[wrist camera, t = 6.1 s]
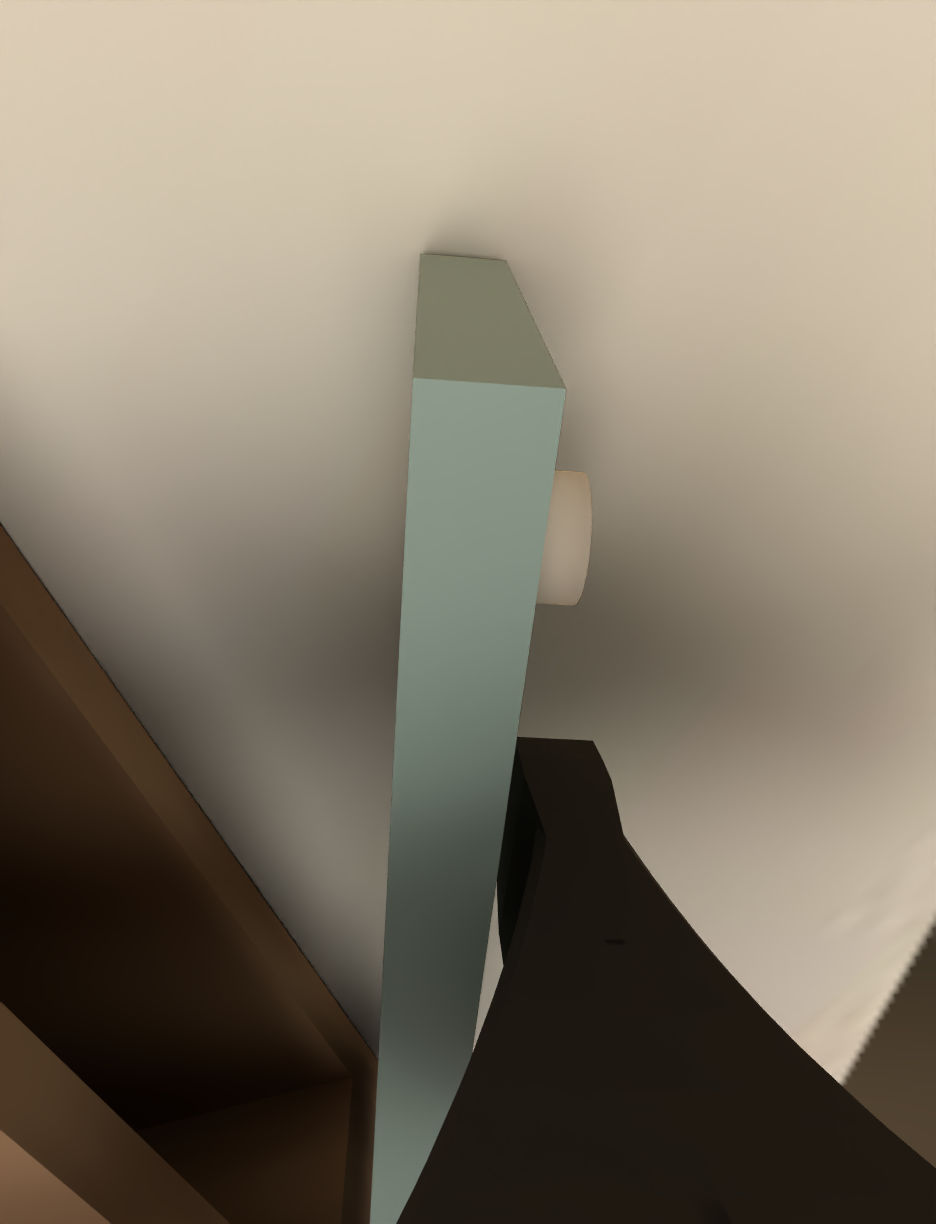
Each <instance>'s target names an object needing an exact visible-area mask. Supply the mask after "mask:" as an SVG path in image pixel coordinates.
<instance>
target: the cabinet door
mask: <svg viewBox="0 0 936 1224" xmlns="http://www.w3.org/2000/svg"><path fill="white" fill-rule="evenodd" d="M565 394H566V387H565V385H564V383H563V381H562V379H561V377H560V375H559V372H558V370H557V368H556V366H555V364H554V362H553V360H552V358H551V355H550V353H549V351H548V349H547V347H546V345H545V343H544V341H543V339H542V336H541V334H540V332H539V330H538V328H537V326H536V324H535V322H534V319H533V317H532V315H531V313H530V311H529V309H528V307H527V305H526V302H525V300H524V298H523V296H522V294H521V292H520V290H519V288H518V285H517V283H516V281H515V279H514V277H513V275H512V273H511V271H510V268H509V266H508V264H507V262H506V261H503V260H491V259H479V258H467V257H455V256H443V255H431V254H420V268H419V285H418V302H417V318H416V335H415V352H414V368H413V386H412V406H411V426H410V446H409V465H408V485H407V505H406V525H405V544H404V564H403V584H402V604H401V623H400V643H399V663H398V683H397V702H396V722H395V742H394V762H393V781H392V801H391V821H390V841H389V860H388V880H387V900H386V920H385V939H384V959H383V979H382V999H381V1018H380V1038H379V1058H378V1078H377V1097H376V1117H375V1137H374V1157H373V1176H372V1196H371V1216H370V1224H396V1223H397V1221H398V1219H399V1217H400V1215H401V1213H402V1211H403V1209H404V1207H405V1205H406V1203H407V1201H408V1199H409V1197H410V1195H411V1193H412V1191H413V1189H414V1187H415V1185H416V1182H417V1180H418V1178H419V1176H420V1174H421V1172H422V1170H423V1168H424V1165H425V1163H426V1161H427V1159H428V1157H429V1154H430V1152H431V1150H432V1148H433V1145H434V1143H435V1141H436V1138H437V1136H438V1134H439V1131H440V1129H441V1127H442V1125H443V1122H444V1120H445V1118H446V1115H447V1113H448V1111H449V1109H450V1106H451V1104H452V1102H453V1099H454V1097H455V1095H456V1093H457V1090H458V1088H459V1086H460V1083H461V1081H462V1079H463V1076H464V1074H465V1071H466V1069H467V1066H468V1064H469V1061H470V1059H471V1056H472V1050H473V1043H474V1036H475V1029H476V1022H477V1015H478V1008H479V1001H480V994H481V986H482V979H483V972H484V965H485V958H486V951H487V944H488V937H489V930H490V923H491V916H492V909H493V902H494V895H495V888H496V881H497V874H498V867H499V860H500V852H501V845H502V838H503V831H504V824H505V817H506V810H507V803H508V796H509V789H510V782H511V775H512V768H513V761H514V754H515V747H516V740H517V733H518V726H519V718H520V711H521V704H522V697H523V690H524V683H525V676H526V669H527V662H528V655H529V648H530V641H531V634H532V627H533V620H534V613H535V606H536V604H554V605H573V606H574V605H576V604H577V603H578V601H579V599H580V597H581V594H582V592H583V588H584V585H585V580H586V576H587V570H588V564H589V556H590V547H591V533H592V502H591V491H590V485H589V481H588V478H587V475H586V474H585V473H584V472H576V471H560V470H555V465H556V458H557V451H558V443H559V436H560V429H561V422H562V415H563V408H564V401H565Z"/></svg>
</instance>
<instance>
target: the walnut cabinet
mask: <svg viewBox="0 0 936 1224" xmlns="http://www.w3.org/2000/svg"><path fill="white" fill-rule="evenodd" d="M377 1078H378V1060H377V1059H376V1057H375V1056H374V1054H373V1053H372V1052H371V1050H370V1049H369V1047H368V1046H367V1044H366V1043H365V1042H364V1040H363V1039H362V1037H361V1036H360V1035H359V1033H358V1032H357V1030H356V1029H355V1027H354V1026H353V1025H352V1023H351V1022H350V1020H349V1019H348V1018H347V1016H346V1015H345V1013H344V1012H343V1010H342V1009H341V1008H340V1006H339V1005H338V1003H337V1002H336V1000H335V999H334V998H333V996H332V995H331V993H330V992H329V991H328V989H327V988H326V986H325V985H324V983H323V982H322V981H321V979H320V978H319V976H318V975H317V974H316V972H315V971H314V969H313V968H312V966H311V965H310V964H309V962H308V961H307V959H306V958H305V957H304V955H303V954H302V952H301V951H300V949H299V948H298V947H297V945H296V944H295V942H294V941H293V939H292V938H291V937H290V935H289V934H288V932H287V931H286V930H285V928H284V927H283V925H282V924H281V922H280V921H279V920H278V918H277V917H276V915H275V914H274V913H273V911H272V910H271V908H270V907H269V905H268V904H267V903H266V901H265V900H264V898H263V897H262V895H261V894H260V893H259V891H258V890H257V888H256V887H255V886H254V884H253V883H252V881H251V880H250V878H249V877H248V876H247V874H246V873H245V871H244V870H243V869H242V867H241V866H240V864H239V863H238V861H237V860H236V859H235V857H234V856H233V854H232V853H231V852H230V850H229V849H228V847H227V846H226V844H225V843H224V842H223V840H222V839H221V837H220V836H219V834H218V833H217V832H216V830H215V829H214V827H213V826H212V825H211V823H210V822H209V820H208V819H207V817H206V816H205V815H204V813H203V812H202V810H201V809H200V808H199V806H198V805H197V803H196V802H195V800H194V799H193V798H192V796H191V795H190V793H189V792H188V790H187V789H186V788H185V786H184V785H183V783H182V782H181V781H180V779H179V778H178V776H177V775H176V773H175V772H174V771H173V769H172V768H171V766H170V765H169V764H168V762H167V761H166V759H165V758H164V756H163V755H162V754H161V752H160V751H159V749H158V748H157V747H156V745H155V744H154V742H153V741H152V739H151V738H150V737H149V735H148V734H147V732H146V731H145V729H144V728H143V727H142V725H141V724H140V722H139V721H138V720H137V718H136V717H135V715H134V714H133V712H132V711H131V710H130V708H129V707H128V705H127V704H126V703H125V701H124V700H123V698H122V697H121V695H120V694H119V693H118V691H117V690H116V688H115V687H114V686H113V684H112V683H111V681H110V680H109V678H108V677H107V676H106V674H105V673H104V671H103V670H102V668H101V667H100V666H99V664H98V663H97V661H96V660H95V659H94V657H93V656H92V654H91V653H90V651H89V650H88V649H87V647H86V646H85V644H84V643H83V642H82V640H81V639H80V637H79V636H78V634H77V633H76V632H75V630H74V629H73V627H72V626H71V624H70V623H69V622H68V620H67V619H66V617H65V616H64V615H63V613H62V612H61V610H60V609H59V607H58V606H57V605H56V603H55V602H54V600H53V599H52V598H51V596H50V595H49V593H48V592H47V590H46V589H45V588H44V586H43V585H42V583H41V582H40V581H39V579H38V578H37V576H36V575H35V573H34V572H33V571H32V569H31V568H30V566H29V565H28V563H27V562H26V561H25V559H24V558H23V556H22V555H21V554H20V552H19V551H18V549H17V548H16V546H15V545H14V544H13V542H12V541H11V539H10V538H9V537H8V535H7V534H6V532H5V531H4V529H3V528H2V527H1V525H0V1224H370V1212H371V1193H372V1174H373V1156H374V1137H375V1117H376V1097H377Z"/></svg>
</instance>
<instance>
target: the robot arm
mask: <svg viewBox="0 0 936 1224" xmlns="http://www.w3.org/2000/svg"><path fill="white" fill-rule="evenodd" d="M497 901H498V925H499V937H500V944H501V952H502V959H503V965H504V966H503V969H502V972H501V975H500V978H499V982H498V985H497V988H496V991H495V994H494V997H493V999H492V1002H491V1005H490V1008H489V1010H488V1013H487V1016H486V1018H485V1021H484V1024H483V1027H482V1029H481V1032H480V1035H479V1038H478V1040H477V1043H476V1046H475V1048H474V1051H473V1053H472V1056H471V1059H470V1061H469V1064H468V1066H467V1069H466V1071H465V1074H464V1076H463V1079H462V1081H461V1083H460V1086H459V1088H458V1090H457V1093H456V1095H455V1097H454V1099H453V1102H452V1104H451V1106H450V1109H449V1111H448V1113H447V1115H446V1118H445V1120H444V1122H443V1125H442V1127H441V1129H440V1131H439V1134H438V1136H437V1138H436V1141H435V1143H434V1145H433V1148H432V1150H431V1152H430V1154H429V1157H428V1159H427V1161H426V1163H425V1165H424V1168H423V1170H422V1172H421V1174H420V1176H419V1178H418V1180H417V1182H416V1185H415V1187H414V1189H413V1191H412V1193H411V1195H410V1197H409V1199H408V1201H407V1203H406V1205H405V1207H404V1209H403V1211H402V1213H401V1215H400V1217H399V1219H398V1221H397V1223H396V1224H936V1168H935V1167H933V1166H932V1165H931V1164H930V1163H929V1162H927V1161H926V1160H925V1159H924V1158H923V1157H921V1156H920V1155H919V1154H918V1153H917V1152H916V1151H914V1150H913V1149H912V1148H911V1147H910V1146H908V1145H907V1144H906V1143H905V1142H904V1141H902V1140H901V1139H900V1138H899V1137H898V1136H897V1135H895V1134H894V1133H893V1132H892V1131H891V1130H889V1129H888V1128H887V1127H886V1126H885V1125H884V1124H883V1123H881V1122H880V1121H879V1120H878V1119H877V1118H876V1117H875V1116H873V1115H872V1114H871V1113H870V1112H869V1111H868V1110H867V1109H866V1108H865V1107H864V1106H863V1105H861V1103H859V1102H858V1101H857V1100H856V1099H855V1098H854V1097H853V1096H852V1095H851V1094H850V1093H849V1092H848V1091H847V1090H846V1089H845V1088H843V1087H842V1086H841V1085H840V1084H839V1083H838V1082H837V1081H836V1080H835V1079H834V1078H833V1077H832V1076H831V1075H830V1074H829V1073H827V1072H826V1071H825V1070H824V1069H823V1068H822V1067H821V1066H820V1065H819V1064H818V1063H817V1062H816V1061H815V1060H814V1059H812V1058H811V1057H810V1056H809V1055H808V1054H807V1053H806V1052H805V1051H804V1050H803V1049H802V1048H801V1047H800V1046H799V1045H798V1044H797V1043H796V1042H795V1041H794V1040H793V1039H792V1038H791V1037H790V1036H789V1035H788V1034H787V1033H786V1032H785V1031H784V1030H783V1029H782V1028H781V1027H780V1026H779V1025H778V1024H777V1023H776V1022H775V1021H774V1020H773V1019H772V1018H771V1017H770V1016H769V1015H768V1014H767V1013H766V1012H765V1010H764V1009H763V1008H762V1007H761V1006H760V1005H759V1004H758V1003H757V1002H756V1001H755V1000H754V999H753V998H752V996H751V995H750V994H749V993H748V992H747V991H746V990H745V989H744V988H743V987H742V985H741V984H740V983H739V982H738V981H737V980H736V979H735V978H734V977H733V976H732V974H731V973H730V972H729V971H728V970H727V969H726V968H725V966H724V965H723V964H722V963H721V962H720V961H719V959H718V958H717V957H716V956H715V955H714V954H713V952H712V951H711V950H710V949H709V948H708V946H707V945H706V944H705V943H704V942H703V940H702V939H701V938H700V937H699V936H698V934H697V933H696V932H695V931H694V929H693V928H692V927H691V926H690V924H689V923H688V922H687V920H686V919H685V918H684V917H683V915H682V914H681V913H680V912H679V910H678V909H677V908H676V907H675V905H674V904H673V903H672V901H671V900H670V899H669V897H668V896H667V895H666V893H665V892H664V891H663V889H662V888H661V887H660V885H659V884H658V883H657V881H656V880H655V879H654V877H653V876H652V875H651V873H650V872H649V870H648V869H647V867H646V866H645V865H644V863H643V862H642V860H641V859H640V857H639V856H638V855H637V853H636V852H635V850H634V849H633V847H632V846H631V845H630V843H629V842H628V840H627V839H626V838H625V836H624V835H623V831H622V826H621V821H620V816H619V812H618V807H617V803H616V798H615V793H614V789H613V785H612V781H611V778H610V776H609V773H608V771H607V769H606V766H605V764H604V762H603V760H602V758H601V756H600V754H599V752H598V750H597V748H596V746H595V744H594V742H593V741H587V740H567V739H547V738H526V737H517V740H516V747H515V754H514V761H513V768H512V775H511V782H510V789H509V796H508V803H507V810H506V817H505V824H504V831H503V838H502V845H501V852H500V860H499V867H498V874H497ZM371 1196H372V1193H371ZM370 1216H371V1212H370Z"/></svg>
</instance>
